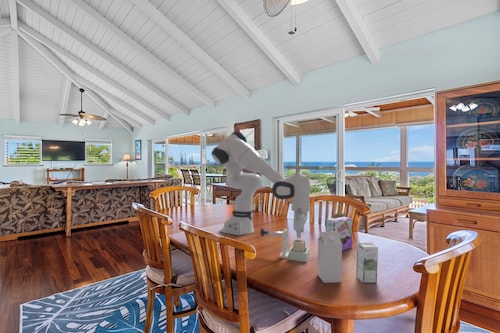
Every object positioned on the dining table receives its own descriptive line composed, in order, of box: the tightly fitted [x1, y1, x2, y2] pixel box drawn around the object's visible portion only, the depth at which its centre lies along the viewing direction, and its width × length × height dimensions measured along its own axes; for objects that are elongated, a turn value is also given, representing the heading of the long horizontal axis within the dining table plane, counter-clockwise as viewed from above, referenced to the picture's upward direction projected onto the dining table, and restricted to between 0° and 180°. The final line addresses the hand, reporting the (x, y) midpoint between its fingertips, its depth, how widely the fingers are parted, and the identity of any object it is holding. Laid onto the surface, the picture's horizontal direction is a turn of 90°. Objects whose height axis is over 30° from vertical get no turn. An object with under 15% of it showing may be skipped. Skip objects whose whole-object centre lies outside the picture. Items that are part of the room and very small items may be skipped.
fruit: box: [331, 212, 347, 219], centre depth 158 cm, size 11×11×15 cm
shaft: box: [259, 227, 289, 237], centre depth 128 cm, size 13×4×4 cm, turn 70°
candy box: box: [325, 216, 353, 251], centre depth 137 cm, size 14×6×16 cm, turn 117°
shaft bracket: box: [278, 228, 310, 263], centre depth 125 cm, size 13×9×13 cm, turn 70°
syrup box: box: [355, 241, 379, 284], centre depth 101 cm, size 6×6×14 cm
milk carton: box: [317, 231, 343, 284], centre depth 102 cm, size 7×7×19 cm
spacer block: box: [292, 238, 306, 253], centre depth 124 cm, size 5×5×8 cm
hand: (300, 234), depth 125 cm, fingers open, 8 cm apart
